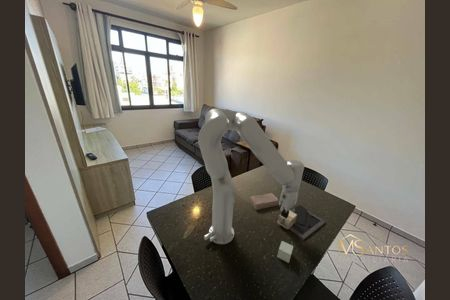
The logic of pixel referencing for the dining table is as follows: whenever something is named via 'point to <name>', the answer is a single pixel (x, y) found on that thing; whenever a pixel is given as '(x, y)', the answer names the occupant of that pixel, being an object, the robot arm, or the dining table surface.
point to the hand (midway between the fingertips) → (284, 216)
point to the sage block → (285, 251)
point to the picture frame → (305, 222)
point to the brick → (263, 201)
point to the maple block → (287, 220)
